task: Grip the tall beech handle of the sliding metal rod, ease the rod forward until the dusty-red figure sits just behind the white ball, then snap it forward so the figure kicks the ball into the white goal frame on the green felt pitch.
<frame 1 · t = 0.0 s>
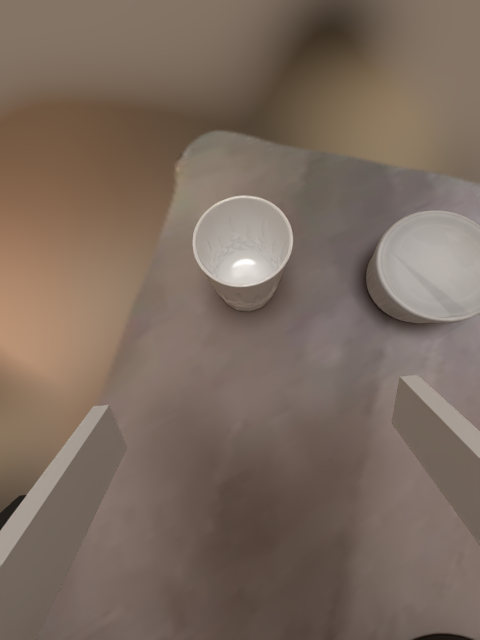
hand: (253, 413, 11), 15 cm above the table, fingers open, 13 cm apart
ramekin: (405, 283, 28), on the table
white cup: (246, 284, 29), on the table
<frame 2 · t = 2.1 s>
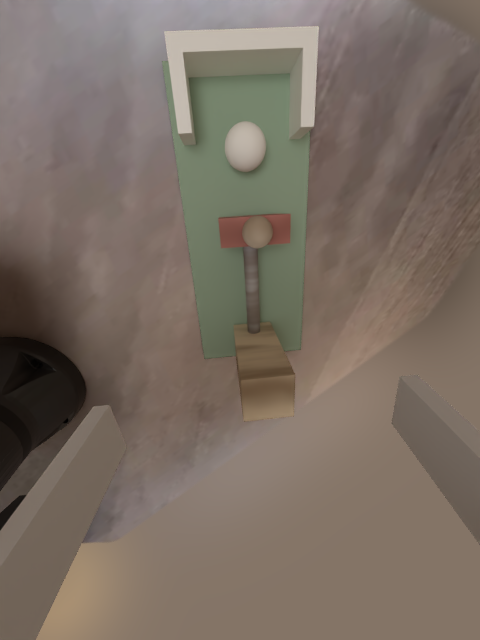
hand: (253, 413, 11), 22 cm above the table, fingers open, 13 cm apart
ball: (245, 147, 24), point 2 cm above the table, touching pitch
goal: (240, 91, 24), resting on pitch
pitch: (247, 238, 29), on the table
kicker: (257, 310, 26), point 7 cm above the table, slide at 0.0 cm
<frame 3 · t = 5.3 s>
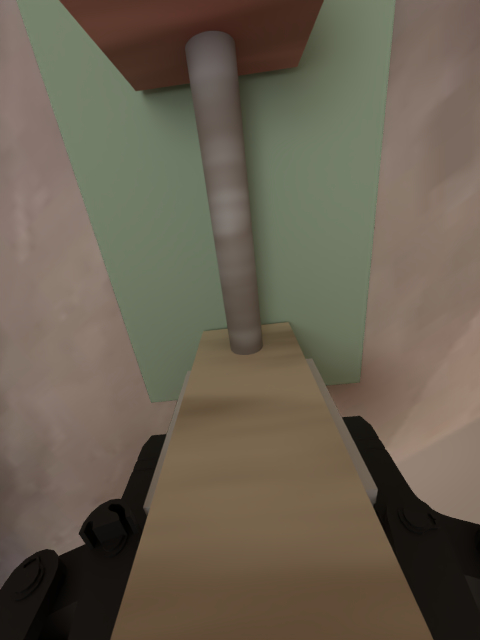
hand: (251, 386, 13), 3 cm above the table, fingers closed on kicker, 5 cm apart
pitch: (217, 90, 10), on the table
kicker: (234, 282, 7), point 6 cm above the table, slide at 0.0 cm, touching gripper
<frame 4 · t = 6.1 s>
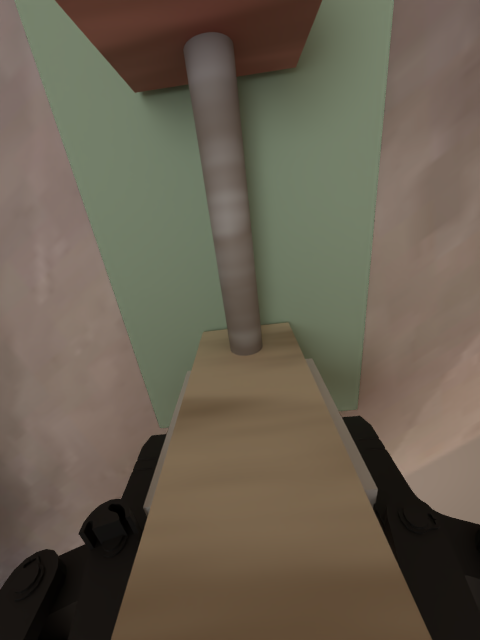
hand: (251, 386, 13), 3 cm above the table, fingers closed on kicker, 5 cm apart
pitch: (224, 155, 11), on the table
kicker: (233, 283, 7), point 7 cm above the table, slide at 2.3 cm, touching gripper
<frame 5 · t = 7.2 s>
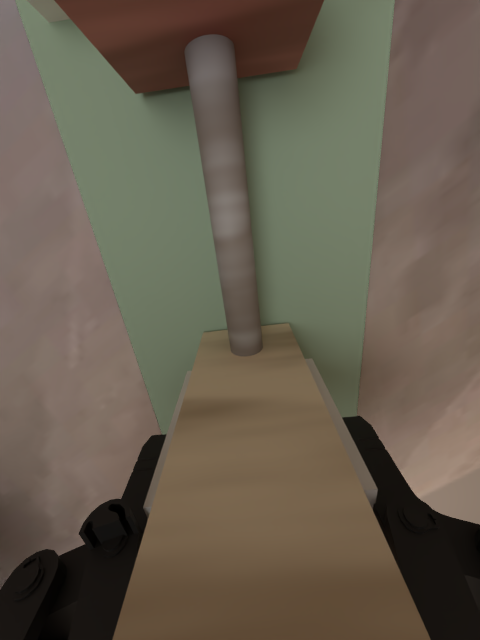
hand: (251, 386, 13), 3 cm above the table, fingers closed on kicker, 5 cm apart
pitch: (236, 255, 13), on the table
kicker: (234, 285, 7), point 7 cm above the table, slide at 6.8 cm, touching gripper
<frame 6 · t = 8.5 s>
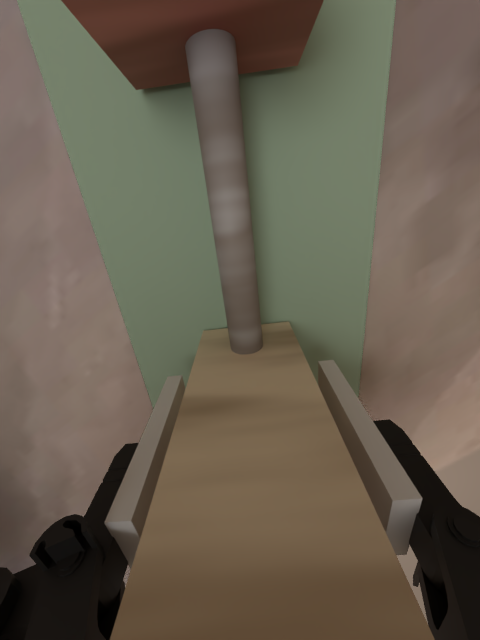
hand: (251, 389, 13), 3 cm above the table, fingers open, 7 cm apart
pitch: (230, 195, 12), on the table
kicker: (235, 281, 7), point 6 cm above the table, slide at 4.1 cm
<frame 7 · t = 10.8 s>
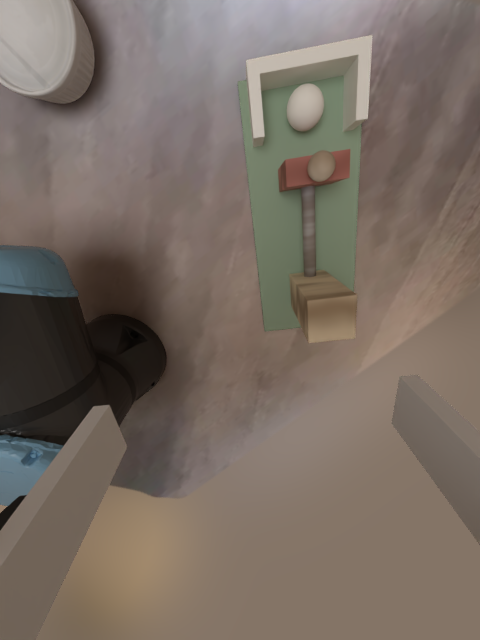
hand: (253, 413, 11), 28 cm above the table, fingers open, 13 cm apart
ramekin: (56, 53, 28), on the table
ball: (304, 108, 27), point 2 cm above the table, tilted 82°, touching pitch
goal: (300, 97, 29), resting on pitch
pitch: (304, 222, 34), on the table
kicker: (316, 247, 29), point 6 cm above the table, slide at 4.1 cm
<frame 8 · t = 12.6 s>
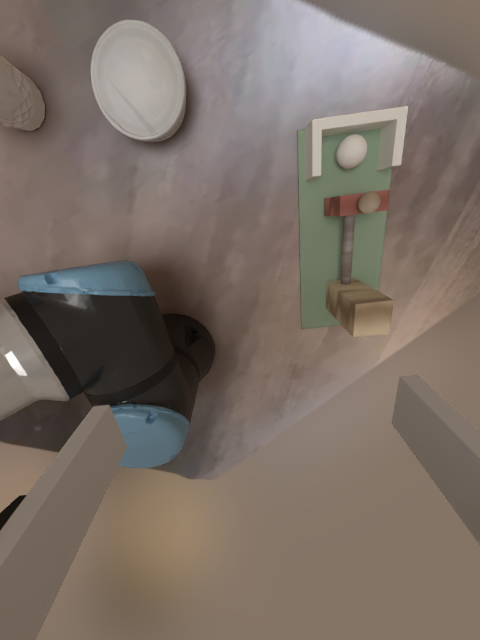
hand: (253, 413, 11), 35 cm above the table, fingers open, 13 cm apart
ramekin: (152, 102, 34), on the table
white cup: (21, 102, 34), on the table
ball: (351, 152, 35), point 2 cm above the table, tilted 88°, touching pitch
goal: (345, 143, 36), resting on pitch
pitch: (341, 239, 42), on the table
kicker: (357, 262, 37), point 7 cm above the table, slide at 4.1 cm
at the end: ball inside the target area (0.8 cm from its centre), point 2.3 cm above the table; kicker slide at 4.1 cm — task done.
